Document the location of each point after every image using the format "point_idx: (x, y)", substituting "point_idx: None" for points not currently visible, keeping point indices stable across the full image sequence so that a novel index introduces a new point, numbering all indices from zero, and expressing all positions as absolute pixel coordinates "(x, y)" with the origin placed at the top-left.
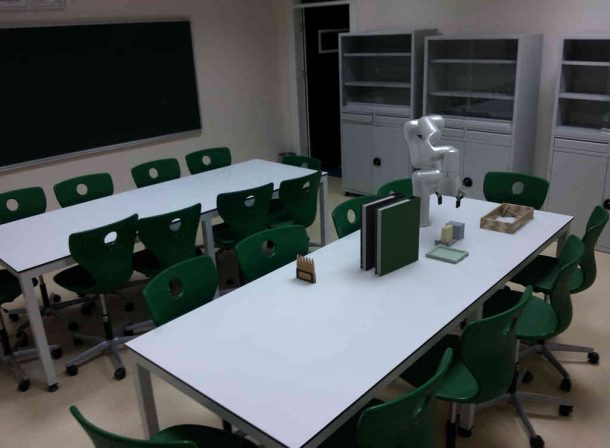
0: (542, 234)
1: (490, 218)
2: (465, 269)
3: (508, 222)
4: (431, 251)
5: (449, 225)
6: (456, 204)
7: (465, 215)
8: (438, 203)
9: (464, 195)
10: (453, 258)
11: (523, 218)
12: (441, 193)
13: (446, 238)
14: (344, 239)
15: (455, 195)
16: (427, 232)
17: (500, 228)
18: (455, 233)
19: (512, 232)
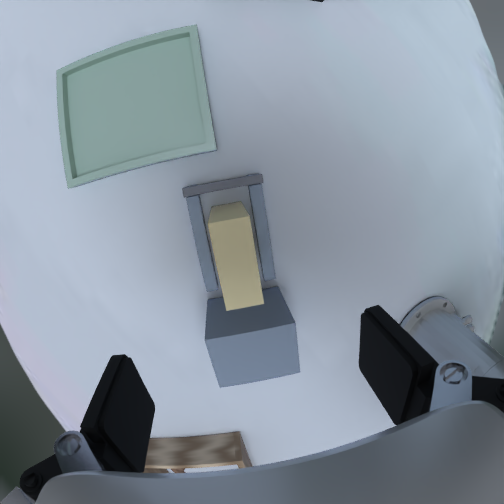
0: None
1: None
2: (26, 75)
3: (148, 467)
4: (194, 63)
5: (242, 295)
6: (104, 385)
7: None
8: (383, 315)
9: (14, 499)
10: (87, 95)
11: None
12: (440, 442)
13: (210, 213)
14: (486, 48)
15: (41, 490)
16: (369, 282)
17: (169, 447)
18: (227, 311)
19: None
